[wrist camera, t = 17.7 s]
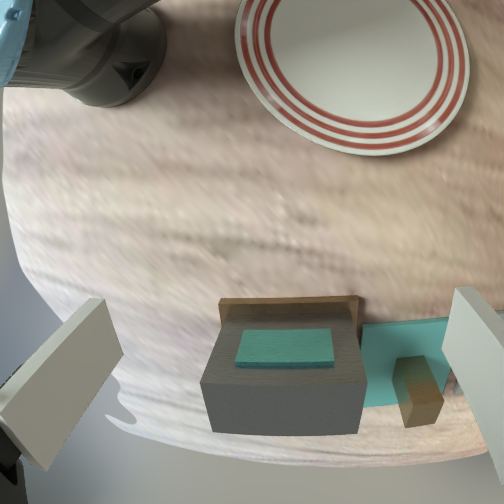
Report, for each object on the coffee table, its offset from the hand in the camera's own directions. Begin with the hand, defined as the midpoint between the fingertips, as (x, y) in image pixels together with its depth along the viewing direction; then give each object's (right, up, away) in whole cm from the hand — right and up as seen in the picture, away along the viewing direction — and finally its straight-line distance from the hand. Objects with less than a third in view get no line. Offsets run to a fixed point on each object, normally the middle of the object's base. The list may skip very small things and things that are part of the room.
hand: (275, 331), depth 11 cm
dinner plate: (+11, +27, +19) cm, 35 cm away
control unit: (+4, -8, +32) cm, 34 cm away
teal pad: (+23, -14, +32) cm, 42 cm away
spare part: (+22, -15, +31) cm, 41 cm away
